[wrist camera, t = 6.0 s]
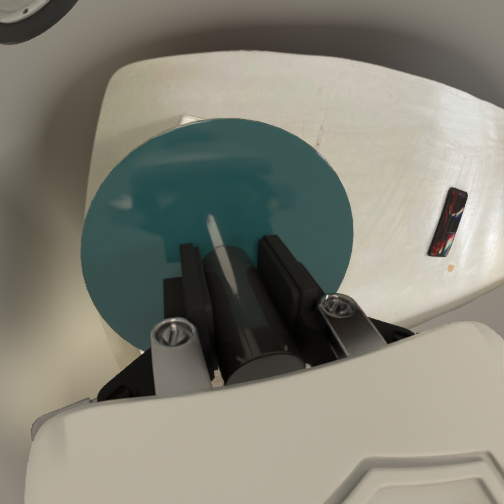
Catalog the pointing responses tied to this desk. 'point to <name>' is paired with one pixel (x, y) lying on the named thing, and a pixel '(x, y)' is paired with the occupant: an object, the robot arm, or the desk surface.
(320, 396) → the robot arm
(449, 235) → the smartphone
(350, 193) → the desk surface
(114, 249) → the lid
